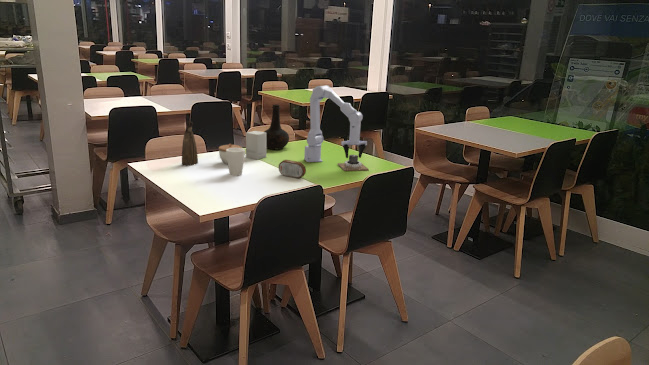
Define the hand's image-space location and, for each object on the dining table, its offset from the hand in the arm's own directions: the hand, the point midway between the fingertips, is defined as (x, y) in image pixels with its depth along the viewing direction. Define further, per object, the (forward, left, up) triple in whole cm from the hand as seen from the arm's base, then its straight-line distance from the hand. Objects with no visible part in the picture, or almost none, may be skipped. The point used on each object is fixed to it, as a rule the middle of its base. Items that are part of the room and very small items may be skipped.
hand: (353, 157), depth 271 cm
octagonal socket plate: (0, 0, -6) cm, 6 cm away
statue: (-89, +17, -6) cm, 91 cm away
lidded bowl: (-67, +17, -6) cm, 69 cm away
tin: (-38, -14, -6) cm, 41 cm away
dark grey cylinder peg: (0, 0, -5) cm, 5 cm away
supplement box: (-51, +29, -6) cm, 59 cm away
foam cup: (-66, -6, -6) cm, 66 cm away
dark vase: (-36, +52, -6) cm, 63 cm away
